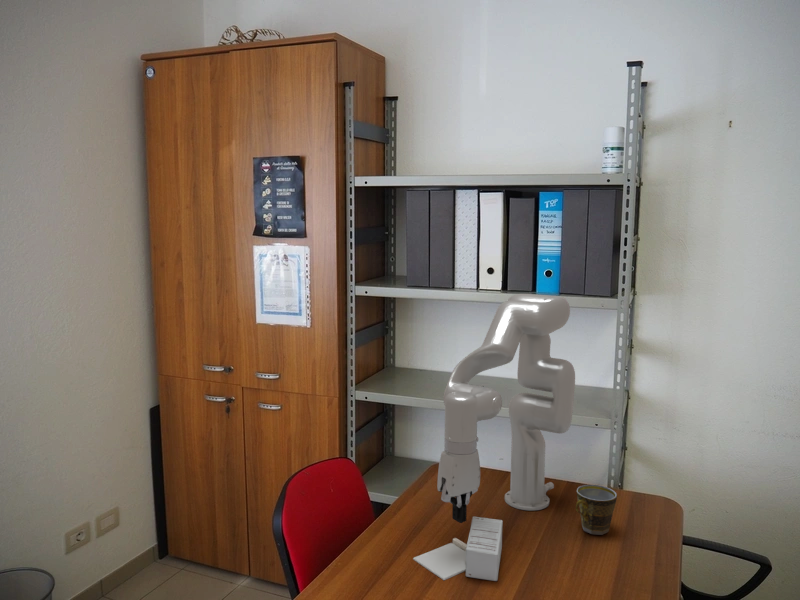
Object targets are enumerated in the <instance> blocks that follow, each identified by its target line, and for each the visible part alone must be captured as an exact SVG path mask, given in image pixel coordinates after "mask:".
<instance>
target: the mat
mask: <svg viewBox="0 0 800 600" xmlns="http://www.w3.org/2000/svg"><path fill="white" fill-rule="evenodd" d="M412 560H413V561H415V562H416V563H418V564H419V565H421V566H422V567H424V568H425V569H426V570H428V571H429V572H431V573H433V574H434V575H435V576H437V577H439V578H440V579H441V580H443V581H446V580H448V579H450V578H452V577H455V576H457V575H460V574H461V573H464V572H466V551H464V550H462V549H461V548H459V547H457V546H456V545H454V544H453V542H450V543H447V544H445V545H442V546H440V547H438V548H435V549H432V550H430V551H428V552H425V553H422V554H420V555H417V556H414V557H413V558H412Z"/></svg>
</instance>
